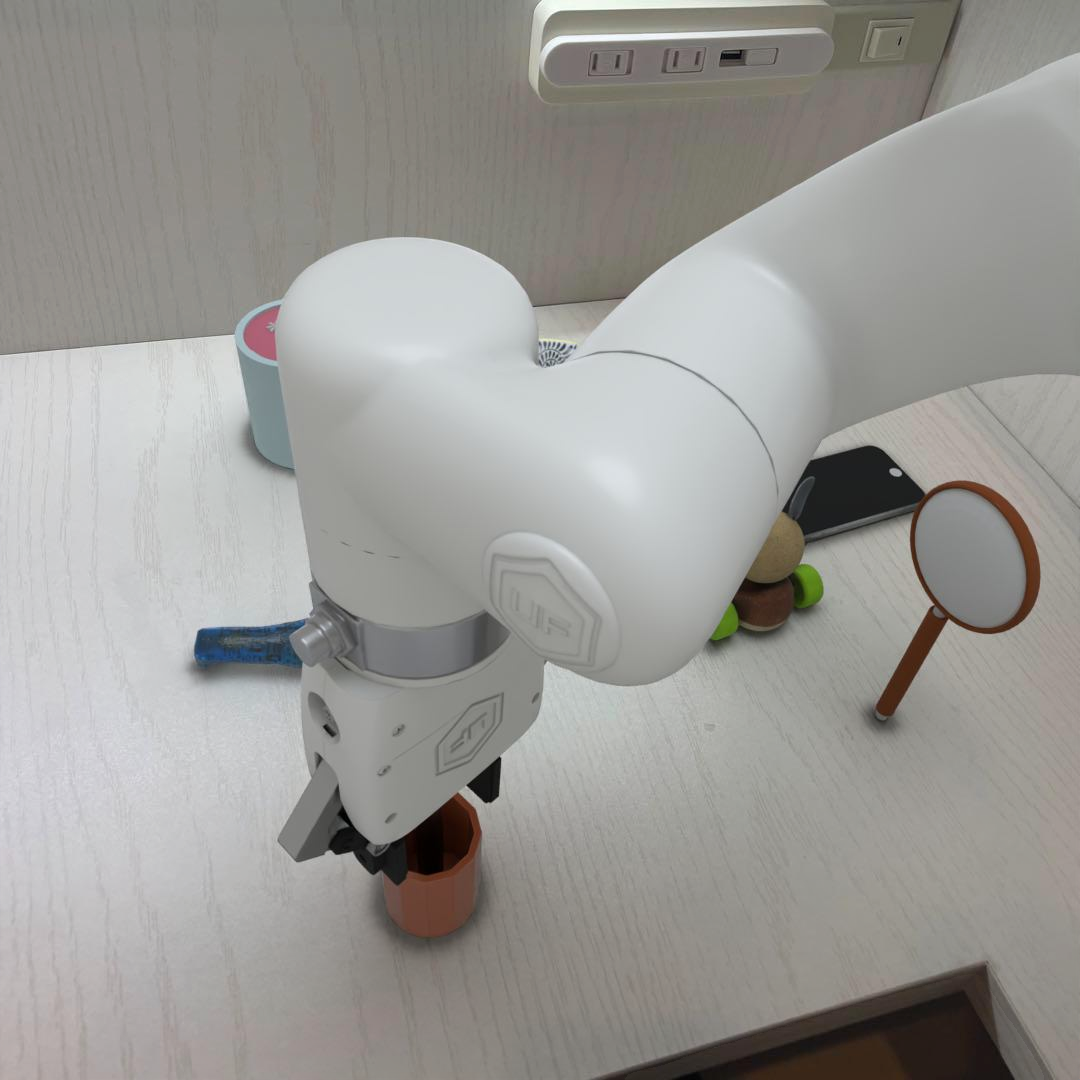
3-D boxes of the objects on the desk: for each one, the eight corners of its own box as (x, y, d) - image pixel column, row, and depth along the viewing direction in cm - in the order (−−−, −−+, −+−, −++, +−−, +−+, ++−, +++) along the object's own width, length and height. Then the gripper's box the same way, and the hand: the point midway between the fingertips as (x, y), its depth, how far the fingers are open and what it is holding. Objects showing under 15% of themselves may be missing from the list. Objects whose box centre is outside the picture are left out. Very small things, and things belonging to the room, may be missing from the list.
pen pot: (497, 891, 55) (501, 832, 49) (428, 958, 52) (425, 903, 47) (435, 830, 57) (433, 768, 52) (365, 890, 54) (356, 831, 49)
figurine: (197, 693, 63) (428, 686, 65) (185, 675, 60) (430, 669, 62) (203, 624, 65) (427, 620, 67) (192, 603, 62) (428, 600, 64)
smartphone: (934, 499, 79) (779, 544, 74) (931, 506, 79) (777, 551, 74) (876, 441, 83) (727, 480, 78) (873, 447, 84) (725, 486, 79)
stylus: (449, 887, 54) (448, 765, 45) (430, 905, 53) (425, 784, 44) (432, 869, 55) (427, 745, 45) (413, 887, 54) (404, 764, 45)
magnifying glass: (831, 671, 67) (935, 452, 52) (852, 664, 67) (960, 445, 53) (910, 775, 61) (1050, 563, 47) (932, 767, 62) (1077, 554, 48)
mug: (233, 426, 81) (211, 324, 73) (327, 385, 85) (316, 284, 78) (326, 517, 74) (312, 415, 67) (423, 467, 79) (420, 366, 71)
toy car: (754, 536, 75) (790, 425, 67) (824, 616, 70) (872, 506, 62) (654, 570, 72) (679, 458, 64) (720, 657, 67) (756, 547, 59)
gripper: (286, 795, 29) (338, 1004, 42) (646, 521, 38) (597, 763, 51) (151, 650, 32) (238, 885, 46) (511, 430, 42) (498, 679, 55)
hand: (428, 819), depth 48 cm, fingers open, 5 cm apart
